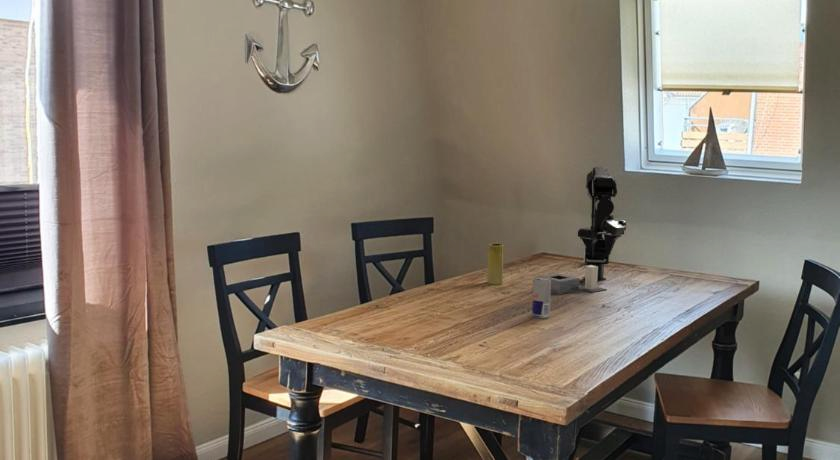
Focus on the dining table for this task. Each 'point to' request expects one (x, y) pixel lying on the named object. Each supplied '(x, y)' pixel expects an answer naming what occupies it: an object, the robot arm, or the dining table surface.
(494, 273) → the vase
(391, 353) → the dining table surface
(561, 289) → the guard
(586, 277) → the cream rectangular prism
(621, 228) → the robot arm
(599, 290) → the mat
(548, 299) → the energy drink
